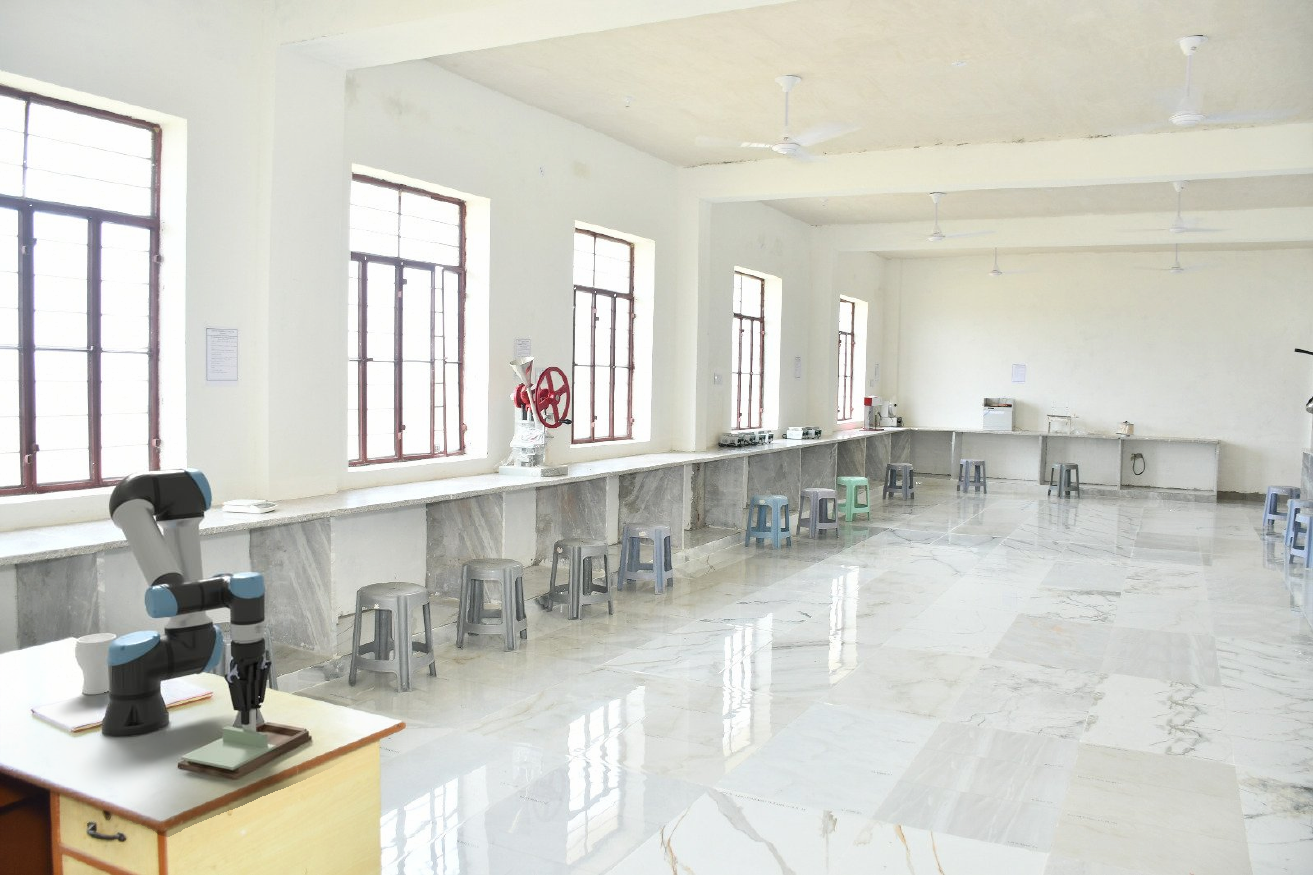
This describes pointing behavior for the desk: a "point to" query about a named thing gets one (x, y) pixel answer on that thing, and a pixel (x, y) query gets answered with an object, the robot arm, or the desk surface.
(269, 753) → the tray
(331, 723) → the desk surface
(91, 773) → the desk surface
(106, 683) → the cup
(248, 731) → the cover
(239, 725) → the flask
